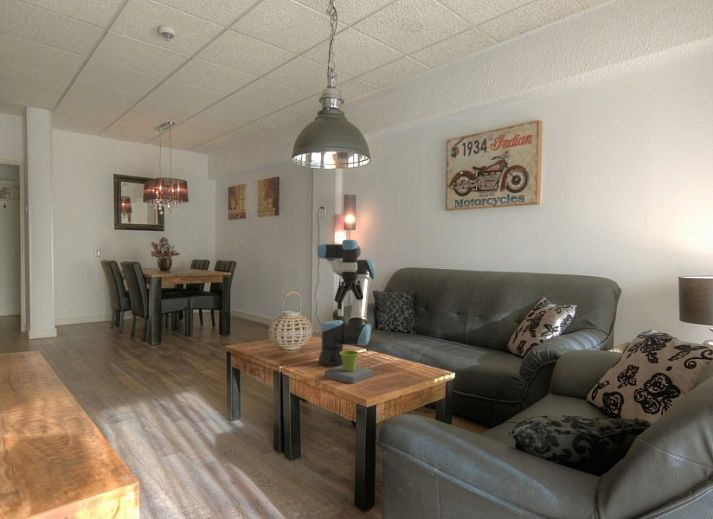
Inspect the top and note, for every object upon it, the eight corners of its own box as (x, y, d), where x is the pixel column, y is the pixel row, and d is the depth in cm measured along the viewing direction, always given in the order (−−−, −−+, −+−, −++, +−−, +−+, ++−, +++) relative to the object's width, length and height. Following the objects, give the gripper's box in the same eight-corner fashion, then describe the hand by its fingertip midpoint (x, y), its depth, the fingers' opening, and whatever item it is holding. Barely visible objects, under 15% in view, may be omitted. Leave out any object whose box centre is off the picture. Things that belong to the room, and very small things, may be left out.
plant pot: (343, 373, 204) (344, 355, 204) (336, 368, 212) (336, 351, 212) (361, 371, 208) (361, 353, 207) (354, 366, 216) (354, 349, 216)
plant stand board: (324, 376, 209) (324, 370, 209) (345, 369, 221) (345, 364, 221) (353, 383, 198) (353, 377, 198) (373, 376, 211) (373, 370, 210)
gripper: (339, 272, 197) (339, 317, 197) (370, 270, 216) (370, 312, 217) (327, 271, 201) (326, 316, 202) (358, 270, 221) (358, 310, 221)
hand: (349, 314), depth 209 cm, fingers open, 13 cm apart
